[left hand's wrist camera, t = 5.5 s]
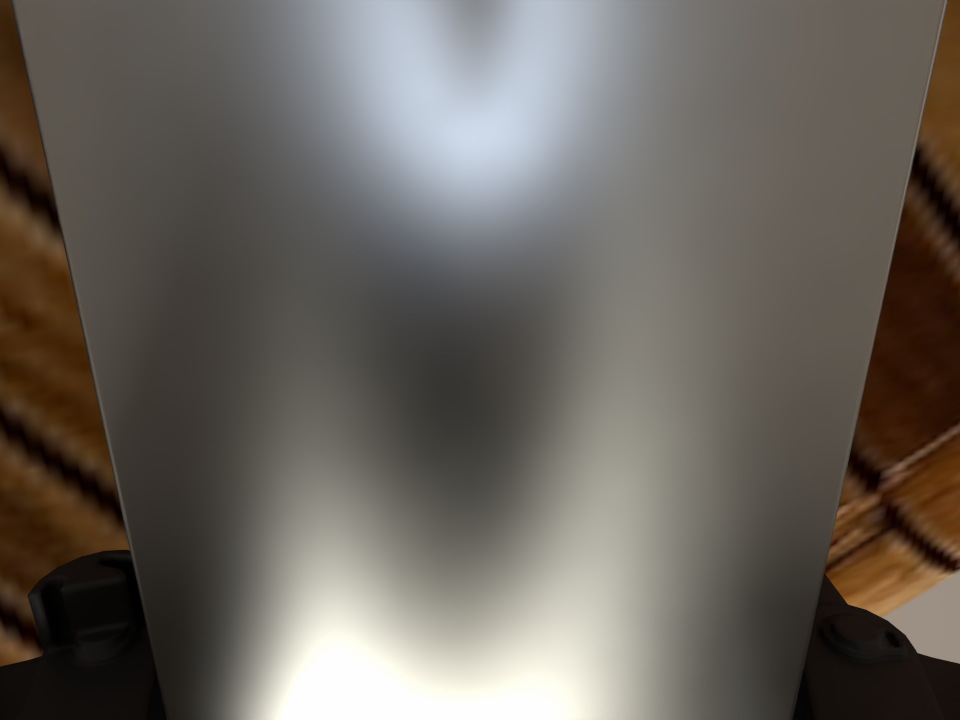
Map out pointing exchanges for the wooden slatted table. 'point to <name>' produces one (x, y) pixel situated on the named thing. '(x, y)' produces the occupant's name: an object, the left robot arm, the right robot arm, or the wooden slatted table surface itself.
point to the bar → (479, 336)
